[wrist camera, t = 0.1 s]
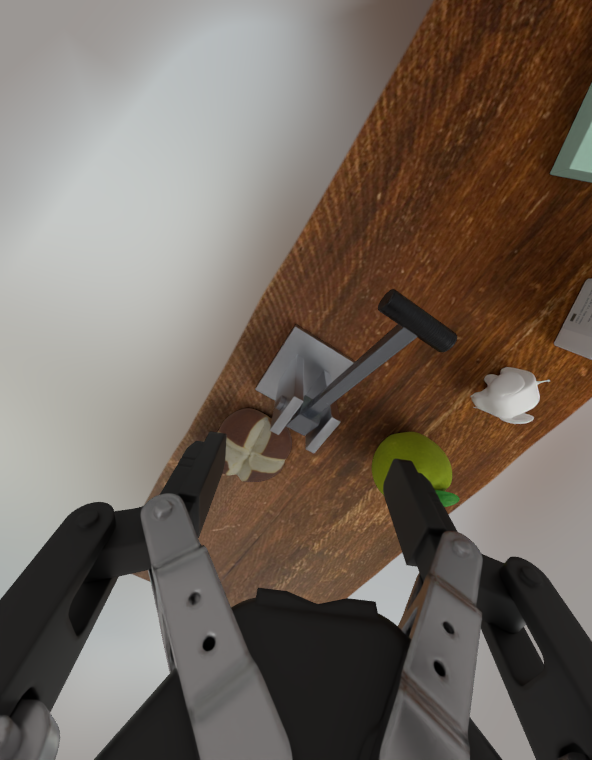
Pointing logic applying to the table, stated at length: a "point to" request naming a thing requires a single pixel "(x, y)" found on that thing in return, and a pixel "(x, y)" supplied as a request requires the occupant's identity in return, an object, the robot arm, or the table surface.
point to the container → (578, 325)
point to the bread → (254, 446)
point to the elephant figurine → (509, 395)
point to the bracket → (303, 381)
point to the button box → (577, 146)
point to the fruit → (415, 462)
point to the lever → (377, 355)
